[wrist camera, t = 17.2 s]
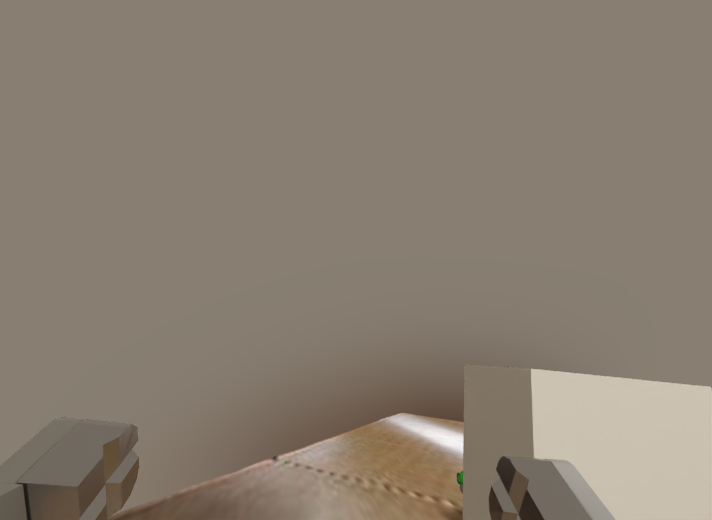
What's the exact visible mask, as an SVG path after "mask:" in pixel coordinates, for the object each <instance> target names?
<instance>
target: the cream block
mask: <svg viewBox="0 0 712 520" xmlns="http://www.w3.org/2000/svg"><path fill="white" fill-rule="evenodd" d="M464 385H465V386H464V453H463V520H491V517H490V512H489V494H490V490H491V485H493V484H494V483H495V482H496V481H497V480H498V479H500V477H499V475H498V473H497V471H496V468H497V465H498V461H499V460H500V459H501V457H502V456H511V457H524V458H537V459H557V460H567V461H569V462H570V463H571V464H573V465H574V466H575V468H576V469H577V470H578V472H579V473H580V474H581V475H582V477H583V478H584V479H585V481H586V482H587V483H588V484H589V486H590V487H591V488H592V490H593V491H594V492H595V493H596V495H597V496H598V497H599V499H600V500H601V501H602V503H603V504H604V505H605V506H606V508H607V509H608V510H609V512H610V513H611V514H612V515H613V517H614V518H615V519H616V520H712V391H711V387H705V386H696V385H686V384H675V383H666V382H656V381H645V380H636V379H625V378H617V377H607V376H597V375H587V374H576V373H567V372H557V371H547V370H538V369H526V368H509V367H491V366H476V365H465V379H464Z"/></svg>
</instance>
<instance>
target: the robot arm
mask: <svg viewBox="0 0 712 520" xmlns="http://www.w3.org/2000/svg"><path fill="white" fill-rule="evenodd" d="M137 441H138V429H137V427H136V426H134V425H133V424H125V423H116V422H107V421H98V420H89V419H86V420H83V419H75V418H66V417H61V418H58V419H55V420H53V421H52V422H50V423H49V424H48V425H47V426H46V427H45V428H43V429H42V430H41V431H40V432H39V433H38V434H37V435H35V436H34V437H33V438H32V439H31V440H30V441H28V442H27V443H26V444H25V445H24V446H23V447H22V448H21V449H19V450H18V451H17V452H16V453H15V454H13V455H12V456H11V457H10V458H9V459H8V460H7V461H6V462H4V463H3V464H2V465H1V466H0V520H107V518H108V517H110V516H111V515H113V514H114V513H116V512H117V511H119V510H120V509H121V508H122V507H123V506H124V504H125V502H126V501H127V499H128V498H129V496H130V494H131V492H132V489H133V486H134V484H135V482H136V479H137V474H138V469H139V457H138V456H137V455H136V453H135V452H134V451H133V450H132V448H133V447H134V445H135V444H136V442H137ZM496 471H497V473H498V475H499V477H500V479H498V480H497V481H496V482H495V483H494V484H493V485H491V490H490V494H489V512H490V517H491V520H616V519H615V518H614V517H613V515H612V514H611V513H610V512H609V510H608V509H607V508H606V506H605V505H604V504H603V503H602V501H601V500H600V499H599V497H598V496H597V495H596V493H595V492H594V491H593V490H592V488H591V487H590V486H589V484H588V483H587V482H586V481H585V479H584V478H583V477H582V475H581V474H580V473H579V472H578V470H577V469H576V468H575V466H574V465H573V464H571V463H570V462H569V461H567V460H557V459H537V458H524V457H511V456H502V457H501V459H500V460H499V461H498V465H497V468H496Z"/></svg>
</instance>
